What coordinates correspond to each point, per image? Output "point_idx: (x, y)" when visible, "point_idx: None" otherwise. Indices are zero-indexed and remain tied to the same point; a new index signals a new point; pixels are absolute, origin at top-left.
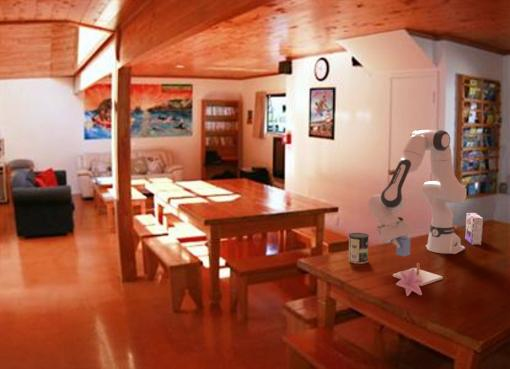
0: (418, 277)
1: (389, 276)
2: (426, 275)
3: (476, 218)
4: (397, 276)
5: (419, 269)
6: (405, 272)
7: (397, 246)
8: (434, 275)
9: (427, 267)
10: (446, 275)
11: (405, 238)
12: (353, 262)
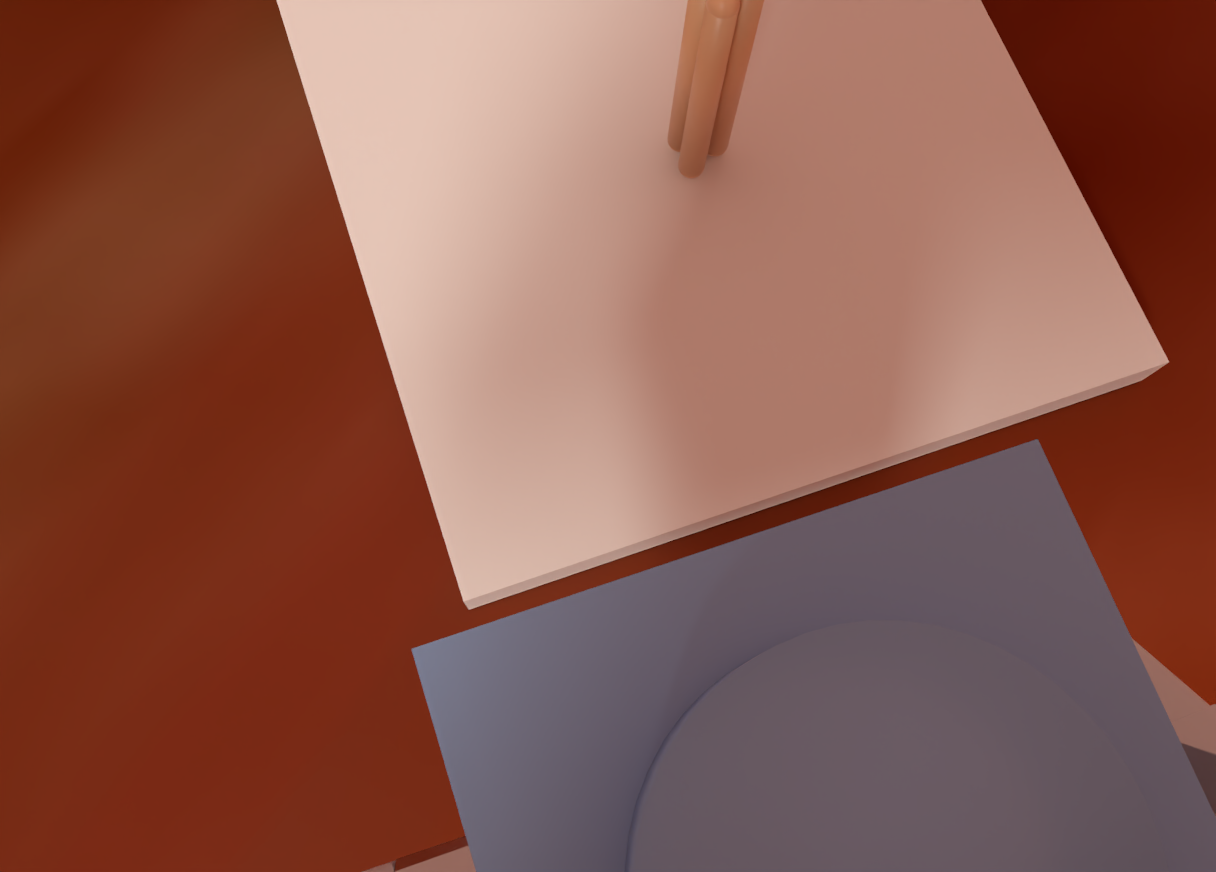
0: (751, 52)
1: (1206, 407)
2: (529, 94)
3: None
4: (1104, 262)
5: (681, 58)
6: (848, 371)
7: None
8: (375, 50)
9: (29, 687)
10: (53, 127)
11: (853, 628)
12: None
